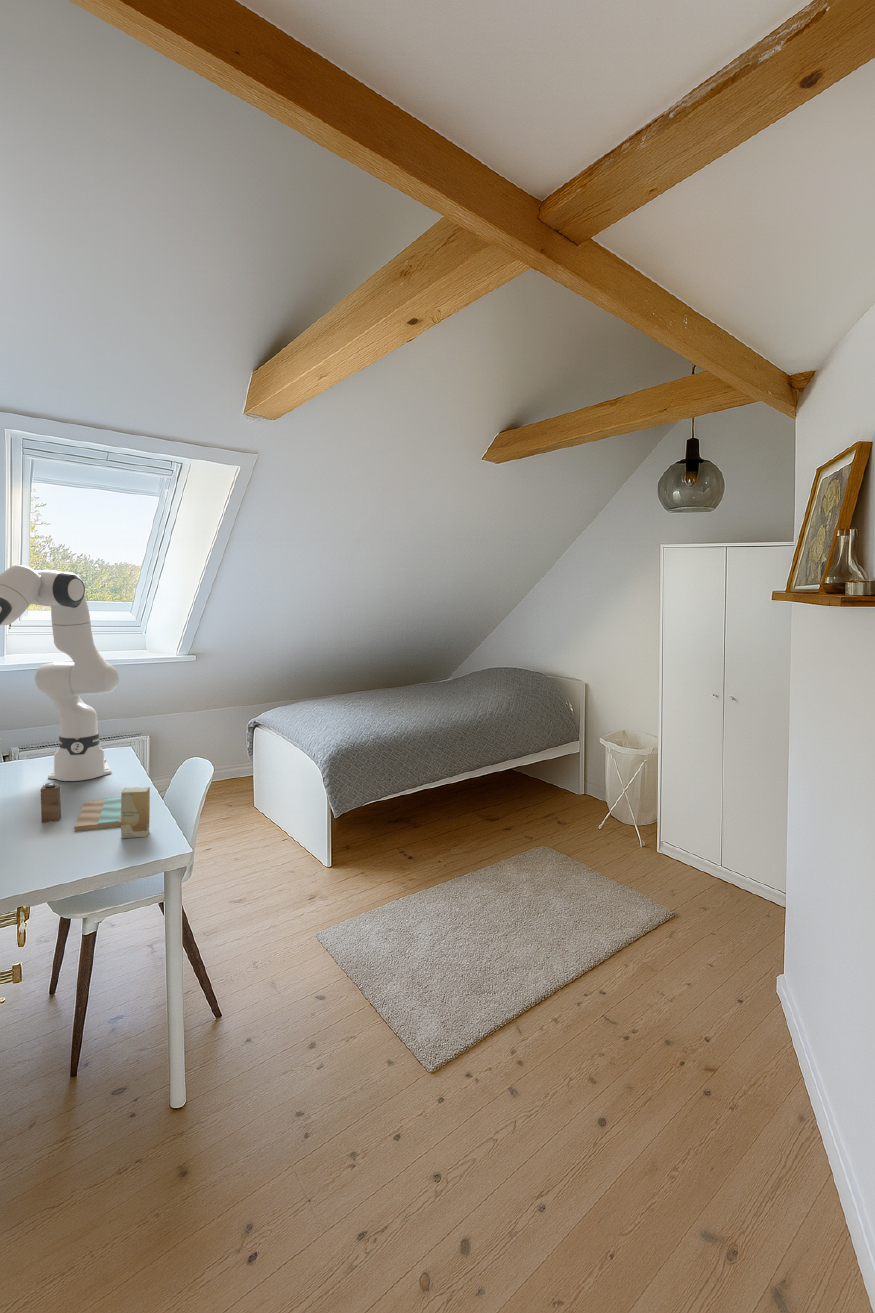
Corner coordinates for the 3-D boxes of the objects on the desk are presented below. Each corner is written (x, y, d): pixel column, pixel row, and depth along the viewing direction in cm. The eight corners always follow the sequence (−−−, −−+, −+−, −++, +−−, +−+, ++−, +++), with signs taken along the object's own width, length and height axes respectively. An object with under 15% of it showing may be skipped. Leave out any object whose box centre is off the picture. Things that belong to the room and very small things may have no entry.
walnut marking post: (44, 817, 175) (43, 782, 174) (60, 816, 176) (59, 781, 176) (41, 822, 171) (40, 786, 170) (58, 820, 173) (57, 785, 172)
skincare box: (120, 839, 161) (119, 792, 160) (124, 832, 165) (123, 787, 164) (148, 837, 163) (147, 791, 162) (150, 831, 167) (149, 786, 166)
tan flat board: (84, 805, 186) (84, 800, 186) (140, 800, 192) (140, 795, 191) (74, 831, 166) (74, 825, 165) (137, 824, 171) (137, 819, 171)
